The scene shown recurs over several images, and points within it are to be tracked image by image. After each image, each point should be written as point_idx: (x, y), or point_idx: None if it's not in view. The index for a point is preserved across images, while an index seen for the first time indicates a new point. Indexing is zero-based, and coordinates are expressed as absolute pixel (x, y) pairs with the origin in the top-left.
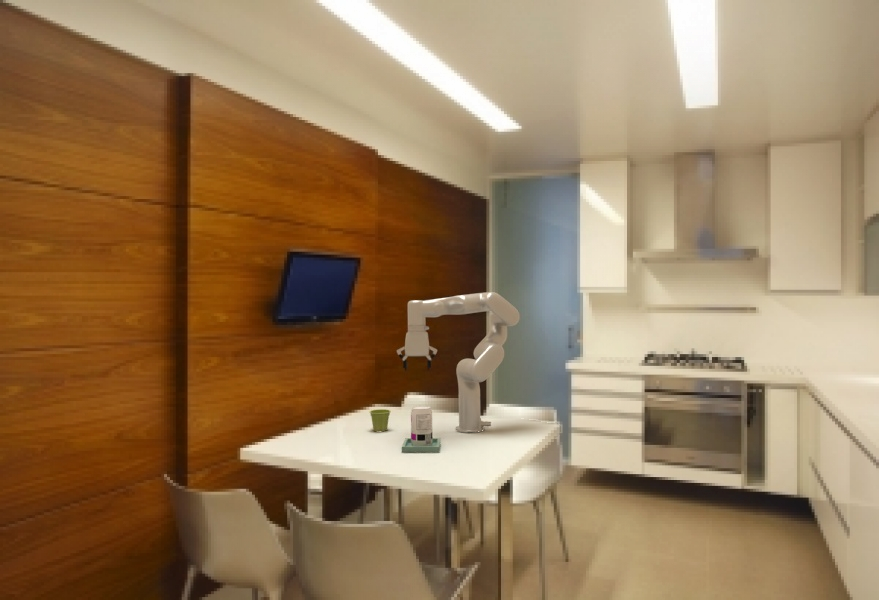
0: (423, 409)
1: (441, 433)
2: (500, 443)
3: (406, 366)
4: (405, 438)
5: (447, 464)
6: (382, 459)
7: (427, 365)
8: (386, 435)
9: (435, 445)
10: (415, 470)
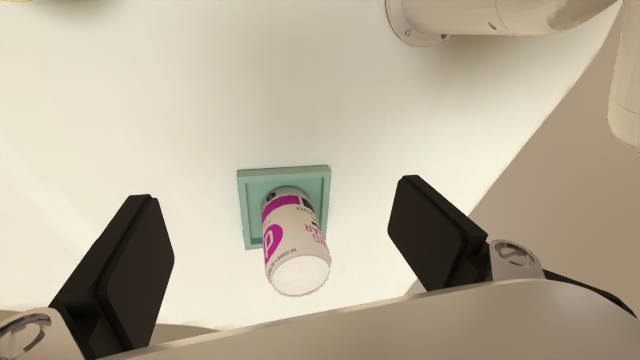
0: (309, 293)
1: (334, 39)
2: (453, 158)
3: (164, 286)
4: (237, 180)
5: (334, 284)
6: (216, 281)
7: (406, 261)
8: (135, 61)
9: (316, 197)
10: (287, 313)
